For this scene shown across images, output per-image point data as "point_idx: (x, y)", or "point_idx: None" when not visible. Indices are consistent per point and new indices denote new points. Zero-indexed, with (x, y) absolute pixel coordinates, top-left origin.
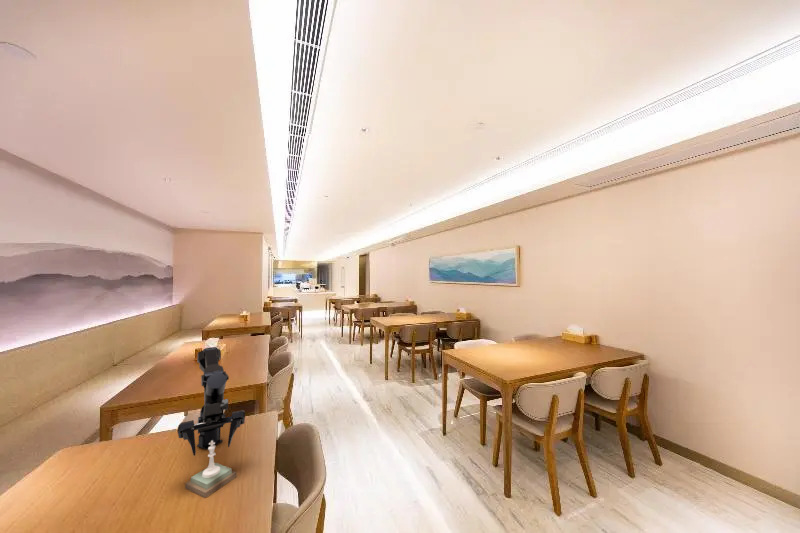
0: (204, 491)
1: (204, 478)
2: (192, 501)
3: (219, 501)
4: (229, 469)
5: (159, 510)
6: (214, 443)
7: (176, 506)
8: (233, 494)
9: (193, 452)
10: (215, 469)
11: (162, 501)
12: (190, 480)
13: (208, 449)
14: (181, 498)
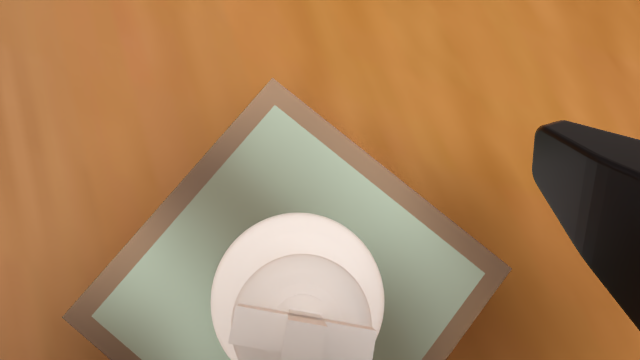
0: (286, 96)
1: (333, 212)
2: (360, 81)
3: (149, 22)
4: (113, 308)
5: (560, 49)
6: (234, 314)
7: (457, 57)
8: (57, 73)
9: (587, 130)
10: (246, 278)
11: None
12: (483, 305)
13: (348, 274)
14: (463, 141)
